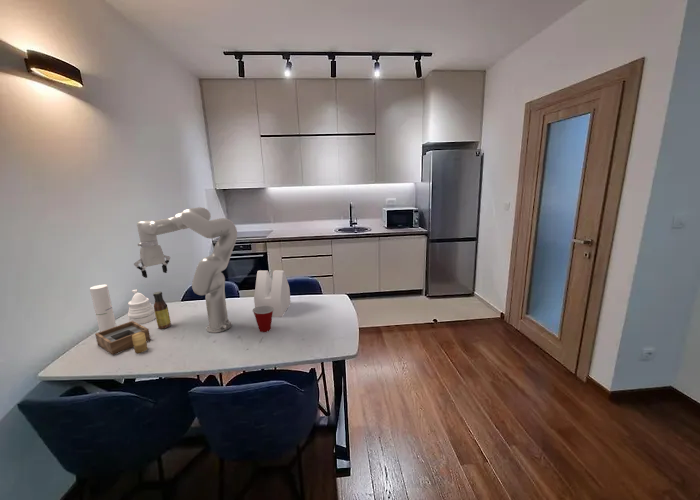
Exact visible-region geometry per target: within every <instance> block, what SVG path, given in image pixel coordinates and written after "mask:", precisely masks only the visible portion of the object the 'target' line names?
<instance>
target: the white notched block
mask: <svg viewBox="0 0 700 500" xmlns="http://www.w3.org/2000/svg"><path fill="white" fill-rule="evenodd" d="M254 287H255V289H254V296H253V303H254V308H255V307H258V306H272V307H274V310H273V313H272V318H283V317H284V315H285V313H286V312H287V310H288V309H289V307H290V306H291V304H292V303H291V302H292V301H291V292H290V291H291V290H290V285H289V282H288V279H287V275H286V273H285V270H279V269H277V270H272V276H271V275H270V272H269V270H257V273H256V280H255V286H254ZM289 305H290V306H289ZM287 308H288V309H287ZM285 311H286V312H285ZM283 314H284V315H283Z"/></svg>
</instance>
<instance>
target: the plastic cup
mask: <svg viewBox="0 0 700 500" xmlns="http://www.w3.org/2000/svg"><path fill="white" fill-rule="evenodd" d="M273 310H274V307H272V306H258V307H255V306H254V308H252V312H253V315H254V317H255V321H256V324H257V327H258V328H257V329H258V330H259V332H260V333H267V331H268V332H269V330H270V329H272V319H273V317H272V313H273ZM270 331H271V330H270Z"/></svg>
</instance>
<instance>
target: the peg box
mask: <svg viewBox="0 0 700 500" xmlns="http://www.w3.org/2000/svg"><path fill="white" fill-rule="evenodd" d="M139 332H144V333H145V337H146V342H149V341H150V340H151V336H150V335H151V334H150V330H149V328H147V327H146V326H144V325H142V324H138V323H136V322H134V321H131V322H129V321H128V322H125V323H122V324H119V325H116V327H113V328H110V329H107V330H104V331H102V332H100V331H99V332H96V333H95V337H96V343H97V345H98V346H99V347H101V349H103V350H104V351H106V352H108V353H109V354H110V355H112V356H115V355H118V354H119V353H122V352H124V351H126V350H129V349H132V348H134V345H133V340H132V335H134V334H136V333H139Z"/></svg>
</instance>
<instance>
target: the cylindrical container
mask: <svg viewBox="0 0 700 500" xmlns="http://www.w3.org/2000/svg"><path fill="white" fill-rule="evenodd" d="M89 292H90V295H91V300H92V304H93V309H94V313H95V316H96V321H97V325H98V330H99V332H102V331H104V330H107V329H110V328H113V327H116V326H117V323H116V318H115V314H114V310H113V306H112V305H113V304H112V301H111V295H110V292H109V287H108V284H98V285H97V284H96V285H93V286H91V287H89Z"/></svg>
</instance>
